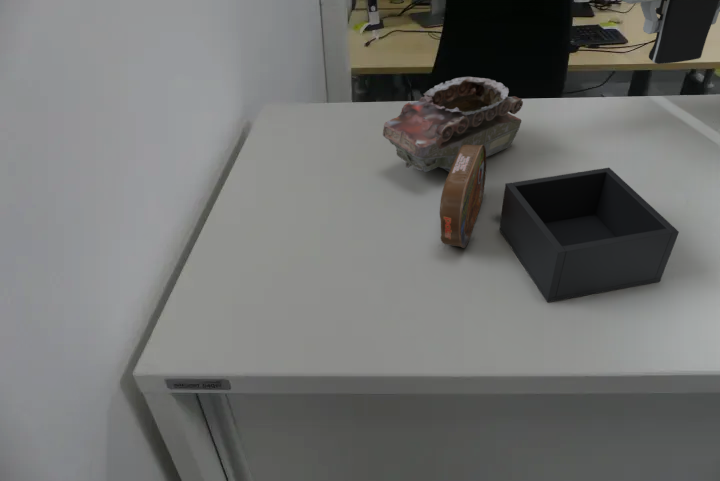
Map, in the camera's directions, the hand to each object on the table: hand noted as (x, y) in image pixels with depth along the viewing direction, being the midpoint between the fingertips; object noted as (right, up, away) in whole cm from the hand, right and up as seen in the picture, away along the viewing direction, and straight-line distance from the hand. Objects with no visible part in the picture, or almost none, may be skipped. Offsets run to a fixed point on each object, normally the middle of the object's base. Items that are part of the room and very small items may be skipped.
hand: (678, 28), depth 76 cm
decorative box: (-30, -18, +3) cm, 35 cm away
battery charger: (0, -3, +3) cm, 4 cm away
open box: (-19, -30, -13) cm, 39 cm away
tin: (-31, -27, -8) cm, 42 cm away
